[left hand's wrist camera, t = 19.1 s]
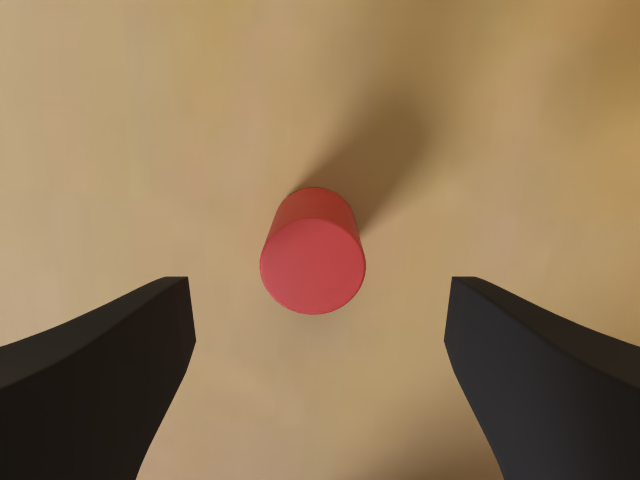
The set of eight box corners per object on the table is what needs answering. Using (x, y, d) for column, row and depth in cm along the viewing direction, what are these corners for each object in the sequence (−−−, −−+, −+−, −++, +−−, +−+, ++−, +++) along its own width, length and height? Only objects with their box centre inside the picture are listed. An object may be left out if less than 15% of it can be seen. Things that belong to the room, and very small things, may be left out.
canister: (371, 220, 17) (388, 261, 13) (320, 278, 18) (321, 333, 14) (307, 169, 16) (302, 195, 12) (258, 233, 17) (238, 276, 13)
